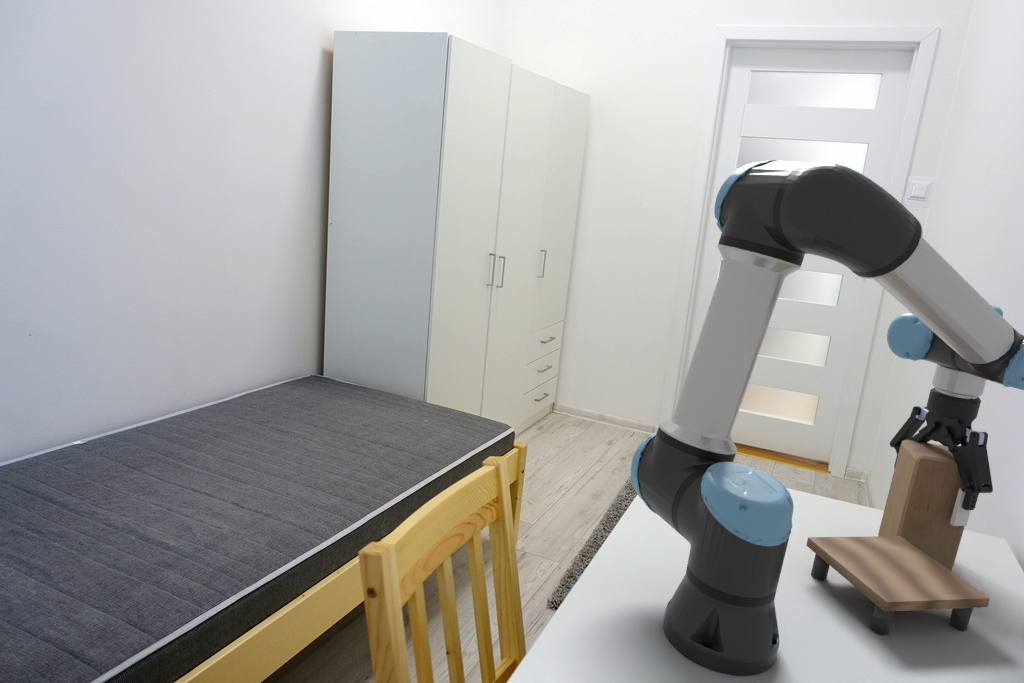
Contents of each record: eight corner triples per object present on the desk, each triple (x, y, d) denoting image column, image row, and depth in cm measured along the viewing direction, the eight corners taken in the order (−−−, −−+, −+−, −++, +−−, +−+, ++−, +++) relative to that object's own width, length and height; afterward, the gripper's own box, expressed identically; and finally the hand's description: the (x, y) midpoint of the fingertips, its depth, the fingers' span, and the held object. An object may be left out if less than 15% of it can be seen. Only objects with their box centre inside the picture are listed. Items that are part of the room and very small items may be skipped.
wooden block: (953, 574, 123) (984, 467, 118) (891, 562, 124) (919, 456, 120) (932, 547, 132) (959, 446, 128) (875, 536, 134) (900, 436, 129)
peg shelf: (877, 639, 101) (886, 602, 100) (800, 569, 118) (808, 537, 117) (979, 634, 105) (990, 598, 104) (891, 567, 122) (899, 536, 121)
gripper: (1041, 418, 110) (1005, 541, 115) (918, 371, 134) (893, 475, 139) (1002, 417, 109) (967, 542, 113) (885, 370, 132) (860, 475, 137)
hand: (926, 506), depth 126 cm, fingers open, 13 cm apart
